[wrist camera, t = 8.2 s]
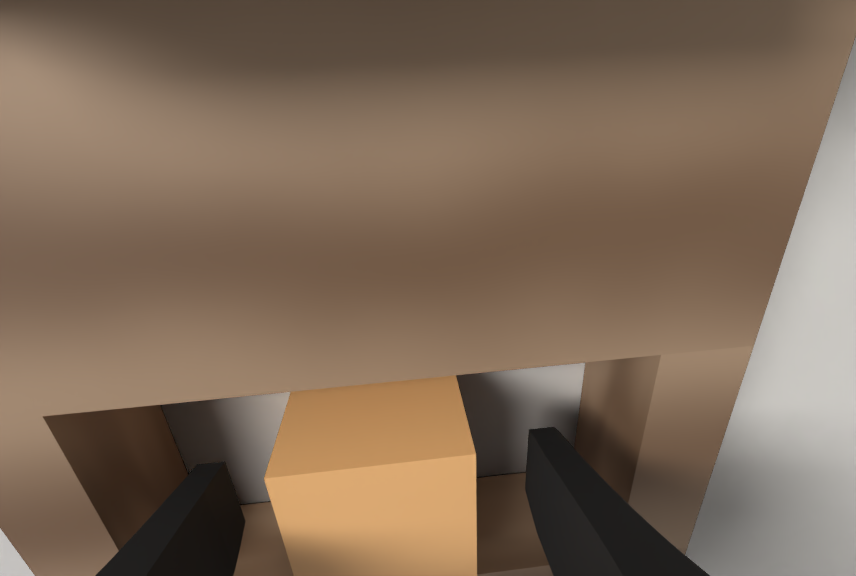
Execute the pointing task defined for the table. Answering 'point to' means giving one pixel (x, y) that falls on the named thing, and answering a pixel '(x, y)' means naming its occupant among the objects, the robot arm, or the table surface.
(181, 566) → the robot arm
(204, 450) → the table surface
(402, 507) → the block
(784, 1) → the puzzle board
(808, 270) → the table surface
